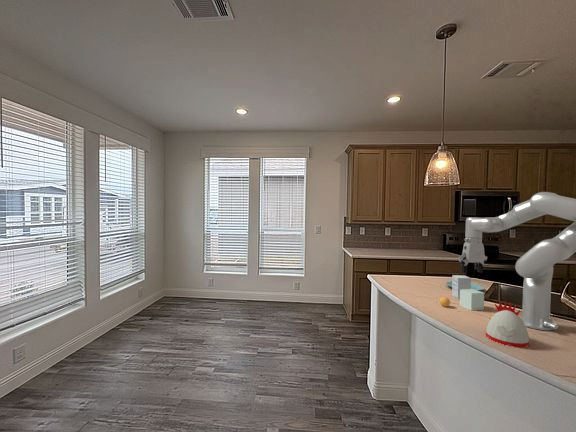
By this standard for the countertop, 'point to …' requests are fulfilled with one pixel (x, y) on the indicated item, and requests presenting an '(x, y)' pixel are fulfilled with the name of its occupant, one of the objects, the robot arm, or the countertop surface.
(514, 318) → the kitchen timer
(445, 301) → the ball
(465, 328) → the countertop surface
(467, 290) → the mint green block
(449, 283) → the plate
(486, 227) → the robot arm
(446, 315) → the countertop surface
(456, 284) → the supplement box
